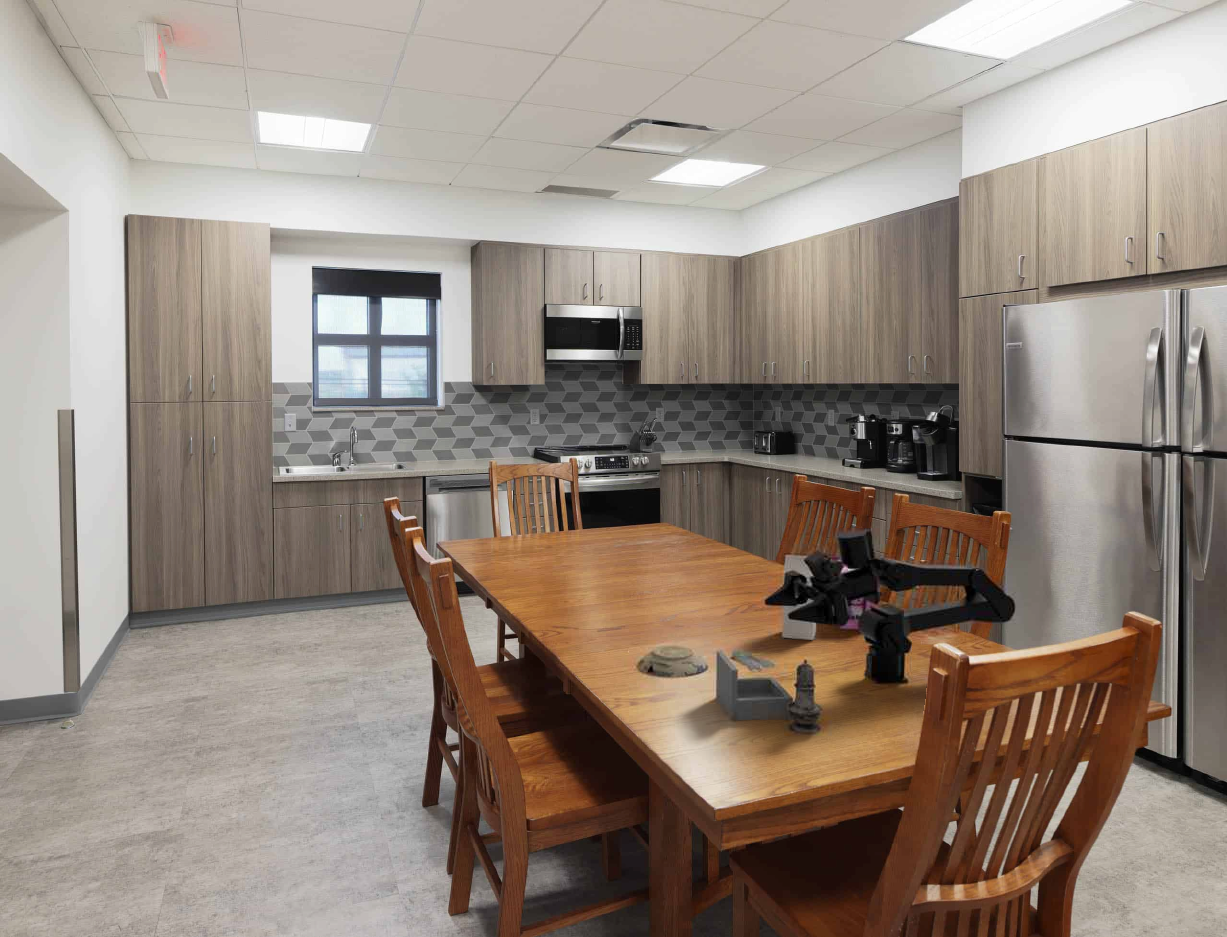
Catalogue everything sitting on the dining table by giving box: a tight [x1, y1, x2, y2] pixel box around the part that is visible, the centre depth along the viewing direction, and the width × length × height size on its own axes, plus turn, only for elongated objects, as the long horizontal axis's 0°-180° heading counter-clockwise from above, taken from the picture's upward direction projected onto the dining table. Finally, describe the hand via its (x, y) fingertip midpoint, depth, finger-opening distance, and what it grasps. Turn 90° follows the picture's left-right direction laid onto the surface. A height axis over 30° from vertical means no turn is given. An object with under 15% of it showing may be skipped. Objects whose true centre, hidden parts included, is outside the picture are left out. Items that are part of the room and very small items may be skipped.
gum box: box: [830, 556, 873, 630], centre depth 210 cm, size 24×8×14 cm, turn 178°
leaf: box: [732, 650, 779, 674], centre depth 171 cm, size 20×8×1 cm, turn 12°
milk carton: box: [781, 554, 817, 641], centre depth 194 cm, size 7×7×19 cm
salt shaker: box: [787, 658, 823, 735], centre depth 140 cm, size 6×6×12 cm
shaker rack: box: [715, 650, 794, 721], centre depth 149 cm, size 11×11×9 cm
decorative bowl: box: [637, 645, 709, 678], centre depth 173 cm, size 15×4×15 cm
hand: (776, 609), depth 157 cm, fingers open, 9 cm apart
